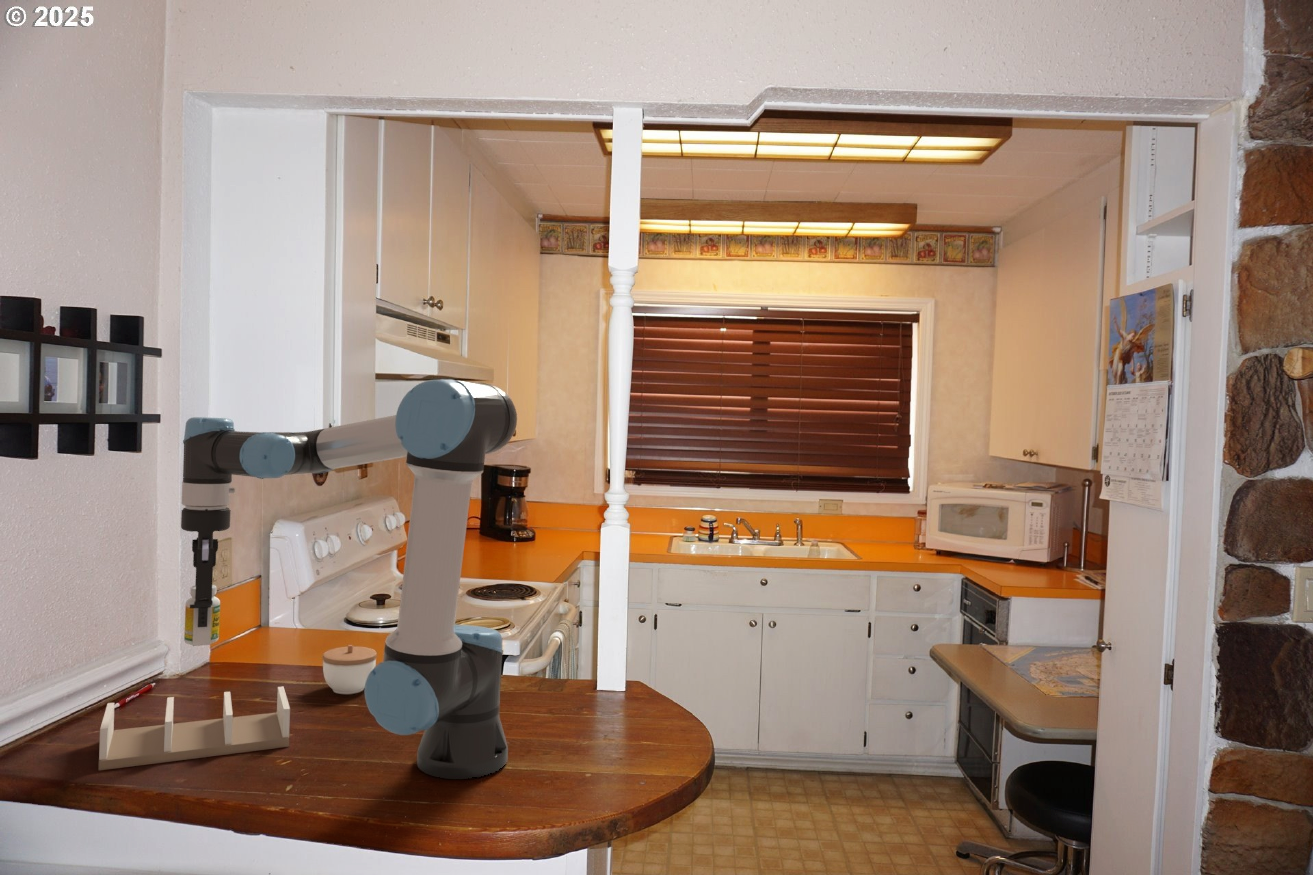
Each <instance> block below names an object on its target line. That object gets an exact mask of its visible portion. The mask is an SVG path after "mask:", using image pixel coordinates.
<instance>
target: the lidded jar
mask: <svg viewBox="0 0 1313 875" xmlns="http://www.w3.org/2000/svg"><path fill="white" fill-rule="evenodd" d="M377 656H378V652H377V651H376V650H375V649H373V648H370V647H367V646H354V645H353V644H348V645H347V646H340V647H335V648H332V649H327V650H326V651H325V652H324V653H322V672H323V677H324V678H323V679H324V680H325V683H326V684H327V685H328V686H329V688H331V689H332V691H333V693H335V694H339V695H353V694H358V693H361V692H363V691H365V683H366V679H367V677H368V675H369V673H370V672H371V671H372V670H373V669H374V668H375V667H376V666H377V664H376V663H377Z"/></svg>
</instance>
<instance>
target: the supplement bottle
mask: <svg viewBox="0 0 1313 875" xmlns="http://www.w3.org/2000/svg"><path fill="white" fill-rule="evenodd" d="M217 588H218V587H217V585H215V584H212V601H213V603H212V617H211V643H210V645H211V644H213V643H214V644H215V643H216V642H217V641H219V637H220V621H221V620H220V619H221V617H220V616H221V600H220V599H219V598H218V597H217V596H216V594H217V592H218V591H217ZM189 591H190V592H189V593H190V598H188V599H187V600H186V602H185V607H184V608H185V611H184V612H185V614H184V638H183V639H184V640H183V642H184V643H185V644H187V645H191V646H193V619H194V608H190V605H194V602H195V593H196V586H195V585H193V586H191V587H190V590H189Z"/></svg>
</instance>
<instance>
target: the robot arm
mask: <svg viewBox="0 0 1313 875" xmlns="http://www.w3.org/2000/svg"><path fill="white" fill-rule="evenodd" d="M517 415H518V414H517V409H516V406H515V404H514V402H513V400H512V399H511V398H510V396H509V395H508V394H507V393H506V391H504V390H503V389H501V388H500V387H498V386H496V385H493V384H490V383H486V382H485V383H484V382H474V381H467V380H466V381H464V380H458V379H457V380H455V379H452V378H448V379H447V378H441V379H430V380H425V381H422V382H420V383H418V384H417V385H415V386H413V388H412V389H410V390H409V391H408V392H407V393H406V394H405V395H404V396H403V398H402V400H401V401H400V402H399V405H398V407H397V410H396V414H393V415H390V416H383V417H378V418H374V419H368V420H362V421H358V422H353V423H347V424H342V425H336V426H331V427H326V428H322V429H315V430H311V431H301V432H300V431H297V432H289V431H287V432H285V431H284V432H281V431H280V432H279V431H278V432H275V431H271V432H270V431H269V432H267V431H264V432H263V431H261V432H257V431H236V430H235V424H234V421H233V419H230V418H225V417H223V418H222V417H205V416H204V417H203V416H202V417H196V416H195V417H190V418H189V419H187V420H186V422H185V427H184V437H183V441H182V444H183V465H182V469H183V470H182V483H181V505H183V506H185V507H183V508H182V509H181V517H180V520H181V521H180V527H181V530H183V531H186V532H196V533H197V537H196V539H192V541H191V544H192V545H191V551H192V553H193V556H192V558H193V560H192V566H193V568H195V581H194V582H195V585H194V586H196V593H195V602H194V605H190V608H194V619H193V645H192V647H197V646H198V647H200V646H211V644H210V643H211V617H212V603H213V601H212V585H213V575H214V574H213V573H214V572H213V571H214V567H216V565H217V552H218V549H219V539H218V538H214V532H222V531H226V530H228V529H229V528H230V527H231V512H232V511H231V509H230V507H227V506H229V505H230V504H231V500H232V499H231V498H232V495H231V494H234V493H236V489H235V487H231V486H232V479H233V476H234V475H235V476H242V477H250V478H256V479H261V480H263V479H279V478H282V477H284V476H286V475H287V476H288V475H299V474H314V475H315V474H323V473H328V472H331V471H333V470H335V469H341V468H346V467H347V468H348V467H353V466H358V465H359V466H360V465H366V464H371V463H378V462H382V461H383V462H384V461H389V460H395V459H400V458H406V461H405V465H406V466H407V468H408V469H409V470H410V471H411V472H412V474H413V475H414V480H413V489H412V497H411V498H412V499H411V506H410V514H409V515H410V516H409V522H408V523H409V524H408V533H407V534H408V535H407V541H406V550H405V559H404V566H403V575H402V576H403V577H402V584H401V592H400V593H401V594H400V603H399V611H398V618H397V619H398V620H397V626H396V629H394V630H393V631H392V632H391V633H389V634H388V635H387V636H386V639H385V642H384V650H383V657H382V661H381V662H379V663H378V664H376V665H375V668H374V669H373V670H372V671H371V672H370V673H369V675H368V677H367V679H366V683H365V687H364V699H365V703H366V706H367V709H368V711H369V713H370V714H371V715H372V716H373V717H374V719H375V721H376V723H377V724H378V725H379V726H381V727H382V728H383V729H385V730H386V731H387V732H389V733H392V734H395V735H399V736H410V735H414V734H416V733H419V732H421V731H423V735H422V736H421V739H420V743H419V745H418V748H417V752H416V753H417V754H416V755H417V756H416V765H417V768H418V769H419V771H421V772H423V773H424V774H427V775H429V776H432V777H435V778H439V777H440V778H441V779H446V780H467V779H468V778H469V779H473V778H472V777H477V778H480V777H481V776H482V777H485V776H484V775H486V776H489V775H491V774H490V773H492V774H494V773H496V772H495V771H497V772H498V771H500V770H501V769H500V768H502V767H503V766H504V765H505V764H507V763H508V759H509V758H508V756H509V754H508V753H509V747H508V743H507V738H506V735H505V733H504V728H503V725H502V722H501V717H500V706H501V704H500V703H501V685H502V684H501V683H502V665H503V654H504V650H503V638H502V635H501V633H500V631H498V630H496V629H493V628H490V627H486V626H480V625H479V626H477V625H472V624H471V625H470V624H469V625H468V624H456V619H457V617H456V616H457V609H458V602H459V601H458V600H459V594H460V593H459V592H460V584H461V576H462V569H463V568H462V566H463V558H464V550H465V542H466V534H467V526H468V518H469V517H468V516H469V510H470V509H469V508H470V500H471V492H472V486H473V485H472V483H473V482H474V481H475V479H477V478H478V477H480V475H481V474H483V473H484V468H485V459H486V455H487V454H491V453H495V452H497V451H499V450H501V449H503V448H504V447H505V446H506V445H507V444H508V443H509V442H510V441H511V440H512V438H513V436H514V434H515V432H516V428H517V426H518V425H517V422H518V416H517ZM506 762H507V763H506ZM505 766H506V765H505ZM505 766H504V767H505ZM504 767H503V768H504ZM503 768H502V769H503ZM499 769H500V770H499ZM488 774H489V775H488ZM469 779H468V780H469Z"/></svg>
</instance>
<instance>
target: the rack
mask: <svg viewBox="0 0 1313 875" xmlns="http://www.w3.org/2000/svg"><path fill="white" fill-rule="evenodd" d="M284 687H285V686H277V697H276V698H277V700H276V712H269V713H260V714H259V713H258V714H251V715H242V716H233V713H234V712H233V706H232V705H233V704H232V695H231V691H224V692H223V713H222V718H215V719H214V718H212V719H205V720H204V719H203V720H195V721H187V722H178V723H177V722H176V723H174V709H175V708H174V705H175V703H174V702H175V696H169V697H167V699H166V706H165V707H166V708H165V718H164V724H159V725H157V724H156V725H150V726H142V727H141V726H140V727H130V728H123V729H115V728H114V727H115V724H114V723H115V702H108V703H107V704H106V707H105V712H104V715H103V718H102V720H101V721H102V722H101V725H100V728H99V751H98V752H99V754H98V755H99V757H98V771H105V770H113V769H123V768H129V767H135V766H136V767H137V766H145V765H152V764H161V763H169V762H176V761H177V762H179V761H183V760H186V761H187V760H192V759H193V760H194V759H199V758H200V759H201V758H207V757H208V758H210V757H217V756H224V755H233V754H241V753H249V752H257V751H264V750H272V749H279V748H287V747H290V721H291V720H290V718H291V717H290V716H291V707H290V703H289V700H288V696H287V694H286V691H285V688H284Z"/></svg>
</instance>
